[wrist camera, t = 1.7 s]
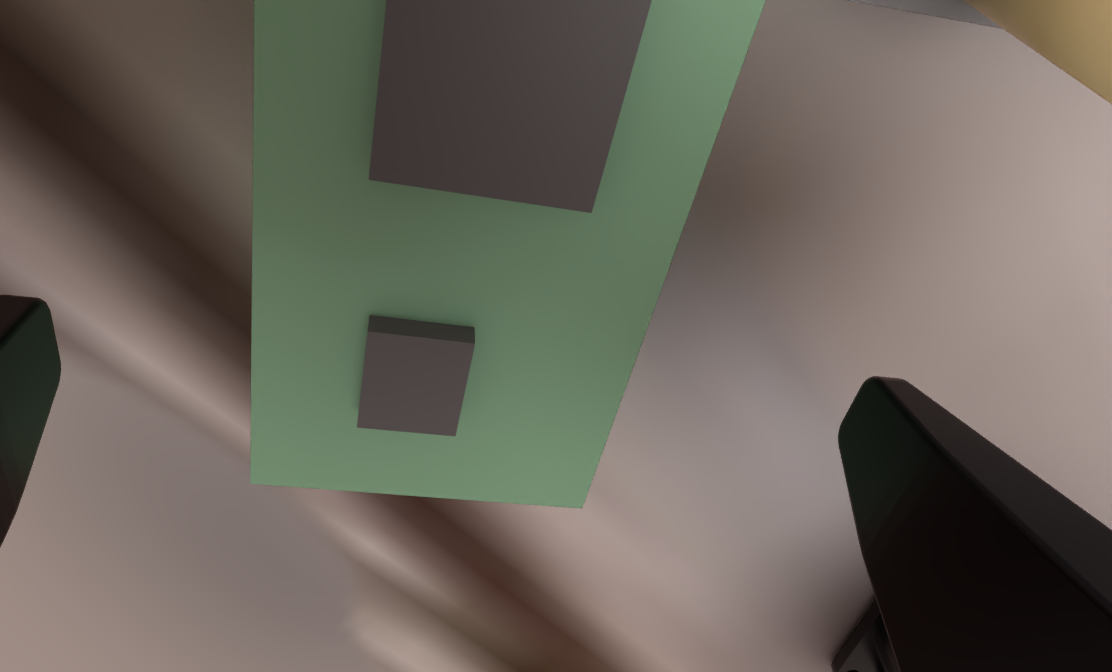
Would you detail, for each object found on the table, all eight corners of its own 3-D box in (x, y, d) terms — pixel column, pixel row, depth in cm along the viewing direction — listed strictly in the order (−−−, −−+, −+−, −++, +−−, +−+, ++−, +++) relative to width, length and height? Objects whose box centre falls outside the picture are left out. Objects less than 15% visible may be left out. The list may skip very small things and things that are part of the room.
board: (561, 369, 19) (584, 525, 16) (285, 339, 18) (246, 501, 15) (749, -264, 12) (864, -229, 9) (313, -386, 11) (249, -399, 8)
